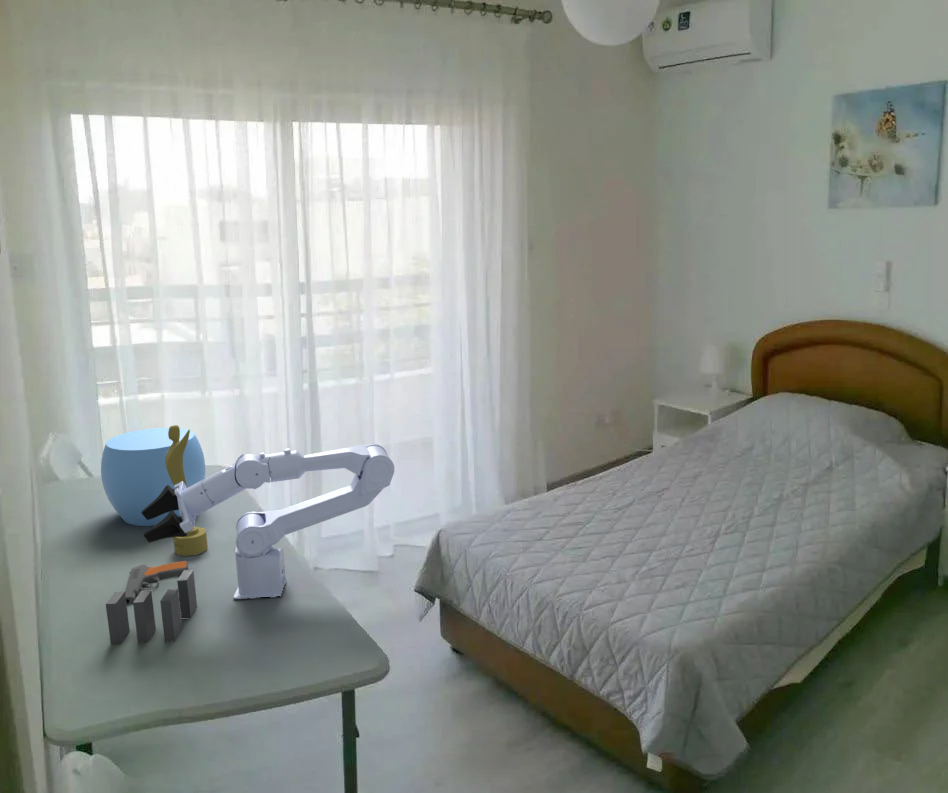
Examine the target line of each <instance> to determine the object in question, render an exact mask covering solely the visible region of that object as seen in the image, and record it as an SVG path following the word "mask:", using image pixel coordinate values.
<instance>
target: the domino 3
mask: <svg viewBox="0 0 948 793" xmlns="http://www.w3.org/2000/svg"><path fill="white" fill-rule="evenodd" d="M176 582H177V589H178V596H179V605H180V614H181V618H191V617H192V618H193V616H192V615H194V614H195V612H196V610H197V608H198V602H197V594H196V592H197V591H196V583H195V573H194V569H188V570H184V571H183V572H182V574H181V575H179V577H178V579H177V580H176ZM192 618H191V619H192Z"/></svg>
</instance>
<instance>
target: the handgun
mask: <svg viewBox="0 0 948 793" xmlns="http://www.w3.org/2000/svg"><path fill="white" fill-rule="evenodd" d="M184 570H189V563H188V561H187V560H183V561H176V562H169V563H166V564H162V565H157V566H148V565H146V564H140V565H138V566H135V567H132V568H131V569H130V572H129V577H128V580H127V584H126V587H125V591H124V592H125V596H126V603H127V602H128V603H127V604H131V603H132V604H133V602H134V601H135V599H136V598H137V597H136V596H138V595H139V594H140V592H141V591H146V590H154V589H155V588H157V587H158V585H159V583H160V579H164V578H163V577H165V578H169V577H170V576H171V577H175V576H176V575H177V576H181V575H180V574H182V572H183V571H184ZM171 577H170V578H171ZM159 578H160V579H159ZM150 581H153V582H155V581H157V583H156V584H155V586H154V585H153V584H152V583H151V582H150ZM146 586H151V588H144V587H146Z"/></svg>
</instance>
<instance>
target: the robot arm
mask: <svg viewBox="0 0 948 793" xmlns="http://www.w3.org/2000/svg"><path fill="white" fill-rule="evenodd" d="M337 469H338V470H339V469H346V470H348V471H349V472H351V473H353V474H354V476H353V478H352V481H351V482H350V484H349V485H347V486H344V487H340V488H339V489H336V490H335V489H334V490H333V491H330V492H326V493H324V494H321V495H318V496H316V497H315V496H314V497H313V498H310V499H307V500H305V501H302V502H299V503H294V504H293V505H290V506H286V507H284V508H282V509H278V510H276V509H275V510H274V509H266V510H264V511H259V512H258V511H248V512H244V513H243V514H241V515H240V517H239V518H238V520H237V522H236V525H235V528H236V529H235V530H236V538H235V546H236V547H235V549H234V552H235V554H234V555H235V564H236V573H237V574H236V576H237V588H236V590H235V592H234V595H233V599H234V600H244V599H245V600H247V598H250V599H260V598H259V597H270V596H280V595H281V593H282V594H283V592H282V590H283V591H284V589H283V587H284V588H285V586H284V584H285V585H286V583H287V577H286V576H287V575H286V564H285V562H286V561H285V553H284V549H283V548H280V547H279V548H277V547H273V545H274V546H275V545H276V544H278V543H279V542H280V541H281V540H282V539H283V537H285V536H287V535H289V534H292V533H296V532H297V531H300V530H303V529H306V528H309V527H311V526H312V527H313V526H314V525H317V524H319V523H323V522H325V521H328V520H331V519H334V518H336V517H339V516H342V515H345V514H349V513H351V512H354V511H356V510H359V509H363V508H365V507H366V506H368V505H370V504H371V503H372V502H373V501H374V500H375V498H376V497H378V496H379V494H380V493H381V492H382V491H383V490H384V489H386V488H387V487H389V486H390V485H391V482H392V479H393V477H394V474H395V464H394V462H393V460H392V459H391V458H390V457H389V455H388V452H387V450H386V449H385V448H384V447H383V446H382V445H380V444H378V443H376V444H375V443H371V444H370V443H369V444H367V445H365V444H357V445H353V446H348V447H343V448H342V447H341V448H338V449H337V448H336V449H332V450H331V449H330V450H326V451H321V452H315V453H310V454H302V453H300V452H299V451H297V450H291V448H290V447H288V448H283V451H281V452H273V453H268V454H267V453H265V452H264V451H263V452H259V453H258V454H257V455H256V454H255V453H246V454H243V453H241V455H240V456H238V457H237V459H236V461H235V463H233V464H230V465H229V466H227V467H225V468H223V469H221V470H218V471H217V472H215V473H213V474H211V475H209V476H207V477H205V479H203V480H202V481H200V482H198V483H196V484H194V485H192V486H190V487H188V488H187V486H186V485H185V484H184V482H183V481H182V482H180V483H178V484H176V485H174V488H175V489H172V488H171V487H170V486H169V485H167V486H165V488H164V490H163V491H162V492H161V494H160V495H159V496H158V497H157V498H156V499H155V500H154V501H153V502H152V503H151V504H150V505H148V506H147V507H146V508H145V509H144V510H143V511H142V514H143V516H144V517H145V518H146V519H147V520H150V519H153V518H155V517H157V516H160V515H162V514H164V513H167V512H169V514H168V515H167V516H166V517H165V518H164V519H163V520H162V521H160V522H159V523H158V524H156V525H152V526H151V527H150V528H148V529H147V530H146V531H144V533H143V534H142V535H143V538H144V539H146V541H147V542H148V543H153V542H157V541H161V540H164V539H169V538H173V537H185V536H187V532H188V531H190V530H192V529H194V526H195V521H196V519H197V516H198V515H199V516H200V515H201V514H202V513H205V512H206V511H209V510H210V509H212V508H214V507H216V506H218V505H220V504H221V503H223V502H225V501H227V500H228V499H231V498H233V497H235V496H236V495H237V494H239V493H241V492H243V491H245V490H246V489H249V490H250V489H253V490H256V489H259V488H261V487H262V486H263V484H265V483H269V484H270V483H275V482H281V481H283V482H284V481H290V480H291V481H292V480H296V479H298V480H299V479H300V478H301V477H302V476H303V475H304V474H305V473H306V472H314V471H323V470H324V471H326V470H337ZM174 510H179V513H180V517H178V516H177V515H176V514H175V512H174ZM285 582H286V583H285ZM274 594H275V595H274ZM281 596H282V595H281ZM281 596H280V597H281ZM256 597H258V598H256ZM270 598H271V597H270Z"/></svg>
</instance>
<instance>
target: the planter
mask: <svg viewBox="0 0 948 793" xmlns="http://www.w3.org/2000/svg"><path fill="white" fill-rule="evenodd" d="M169 428H170V427H156V428H145V429H139V430H134V431H129V432H124V433H121V434H119V435H116V436H115V435H114V436H113V437H111V438H109V439H108V440H107V441H106V442H105V445H104V448H103V451H102V456H101V461H100V462H101V463H100V474H101V475H100V476H101V481H102V482H101V483H102V487H103V490H104V492H105V495H106V497H107V499H108V501H109V503H110V504H111V506H112V507H113V509H114V510H115V511H116V513H117V514H118V515H119V516H120V518H122V520H123V521H125V523H126V524H128V525H132V526H140V527H141V526H142V527H144V526H145V527H147V526H148V527H153V526H155V525H156V524H158V523H159V522H160V521H162V520H163V519H164V518H165V517H166V516H167V515H168V514H169V512H167V513H164V514H162V515H160V516H157V517H155V518H153V519H150V520H147V519H146V518H145V517H144V516H143V514H142V511H143V510H144V509H145V508H146V507H147V506H148V505H150V504H151V503H152V502H153V501H154V500H155V499H156V498H157V497H158V496H159V495H160V494H161V492H162V491H163V490H164V488H165V486H167V485H169V486H170V487H171V488H172V489H175V488H174V485H173V483H172V481H171V478H170V476H169V474H168V471H167V468H166V463H165V458H166V454H167V452H168V450H169V448H170V446H171V445H172V443H173V441H172V440H170V439H169V436H168V431H169ZM179 429H180V438H179V442H180V441H181V440H182V438H183V437H184V436H185V434H186V433H187V432H188V430H189V429H186V428H180V427H179ZM197 437H198V436H196V434H195V432H194V431H192V430H190V434H189V438H188V442H187V445H186V448H185V450H184V454H183V470H184V475H185V480H186V484H187V488H188V487H190V486H192V485H194V484H196V483H198V482H200V481H202V480H203V479H205V478H206V462H205V460H206V459H205V455H204V452H203V451H204V450H203V449H202V445H201V444H200V442H199V439H198V438H197ZM174 512H175V514H176V515H177V516H178V517H180V513H179V510H174Z"/></svg>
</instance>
